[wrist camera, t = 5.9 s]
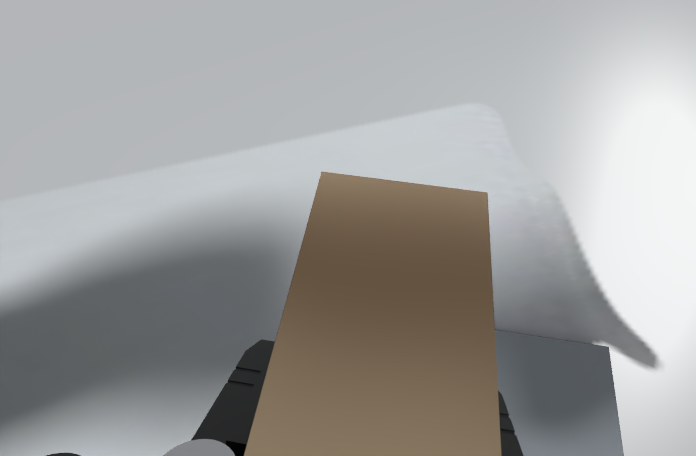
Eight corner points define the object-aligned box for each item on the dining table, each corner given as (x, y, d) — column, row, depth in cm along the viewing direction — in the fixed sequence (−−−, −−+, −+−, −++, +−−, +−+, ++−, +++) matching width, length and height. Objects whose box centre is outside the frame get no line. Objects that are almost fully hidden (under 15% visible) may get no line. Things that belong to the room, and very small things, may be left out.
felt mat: (253, 555, 20) (250, 559, 20) (305, 303, 26) (304, 301, 26) (641, 636, 19) (649, 642, 18) (603, 348, 25) (608, 346, 24)
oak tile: (391, 590, 11) (525, 907, 3) (287, 567, 11) (132, 793, 3) (409, 352, 15) (487, 192, 7) (331, 339, 15) (313, 170, 7)
